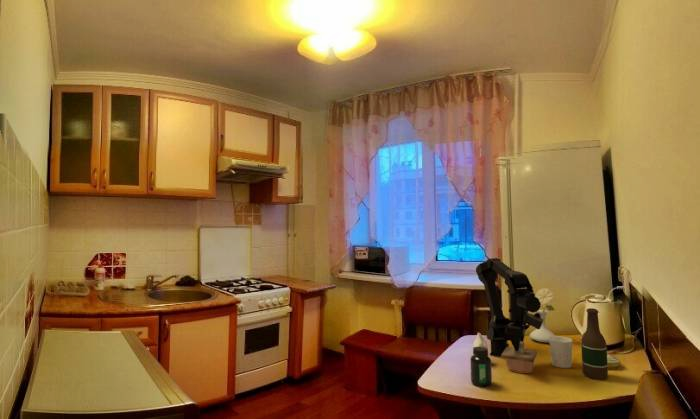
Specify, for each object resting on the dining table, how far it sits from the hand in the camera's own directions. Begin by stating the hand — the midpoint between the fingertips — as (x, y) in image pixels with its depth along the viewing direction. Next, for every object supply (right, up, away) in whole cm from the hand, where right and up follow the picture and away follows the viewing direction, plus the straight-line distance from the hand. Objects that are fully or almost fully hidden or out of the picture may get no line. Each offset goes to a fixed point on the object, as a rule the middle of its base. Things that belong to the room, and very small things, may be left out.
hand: (519, 347), depth 144 cm
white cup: (+18, -8, +2) cm, 19 cm away
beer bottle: (+23, -7, -9) cm, 26 cm away
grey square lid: (0, -3, 0) cm, 3 cm away
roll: (-13, -9, +6) cm, 16 cm away
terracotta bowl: (0, -8, 0) cm, 8 cm away
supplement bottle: (-19, -8, -13) cm, 24 cm away
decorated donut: (+34, -8, +2) cm, 35 cm away
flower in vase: (+26, -9, +31) cm, 41 cm away
